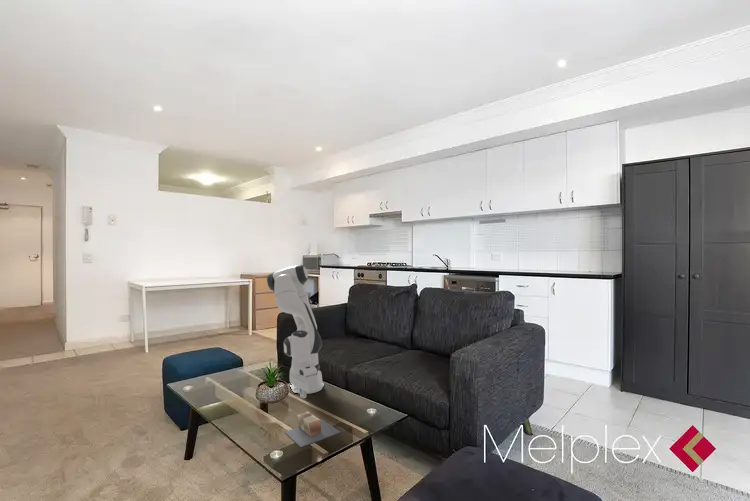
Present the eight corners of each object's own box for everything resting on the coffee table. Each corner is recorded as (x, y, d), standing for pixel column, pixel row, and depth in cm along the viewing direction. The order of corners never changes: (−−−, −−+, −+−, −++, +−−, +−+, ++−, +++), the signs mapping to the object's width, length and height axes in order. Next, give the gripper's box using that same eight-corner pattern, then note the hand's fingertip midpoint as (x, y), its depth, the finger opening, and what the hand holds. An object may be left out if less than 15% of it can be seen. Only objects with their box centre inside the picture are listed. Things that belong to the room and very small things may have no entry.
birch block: (297, 414, 161) (310, 424, 152) (307, 411, 164) (320, 420, 155) (297, 426, 161) (310, 436, 151) (308, 422, 164) (321, 432, 155)
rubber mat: (284, 432, 156) (284, 431, 156) (322, 419, 167) (322, 419, 167) (300, 447, 143) (300, 446, 143) (340, 432, 154) (340, 431, 154)
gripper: (285, 364, 173) (286, 393, 173) (306, 373, 157) (307, 406, 157) (297, 361, 177) (298, 389, 177) (319, 370, 161) (320, 401, 161)
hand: (303, 397), depth 167 cm, fingers closed
